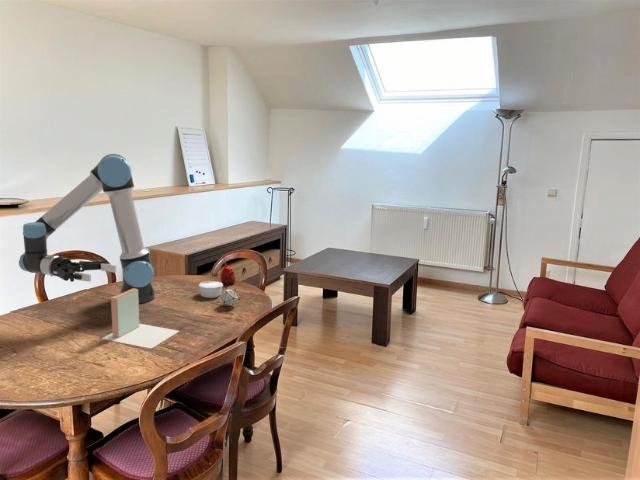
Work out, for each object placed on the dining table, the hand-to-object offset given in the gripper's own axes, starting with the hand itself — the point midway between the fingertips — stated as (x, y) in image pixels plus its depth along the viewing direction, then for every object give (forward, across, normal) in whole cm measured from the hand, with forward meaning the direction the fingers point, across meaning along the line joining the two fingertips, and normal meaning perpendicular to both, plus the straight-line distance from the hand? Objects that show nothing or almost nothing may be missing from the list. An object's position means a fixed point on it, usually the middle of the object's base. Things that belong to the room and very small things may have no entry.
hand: (103, 273), depth 181 cm
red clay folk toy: (+13, -71, -22) cm, 76 cm away
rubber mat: (+16, 0, -22) cm, 27 cm away
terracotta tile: (+9, 0, -21) cm, 23 cm away
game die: (+30, -42, -22) cm, 56 cm away
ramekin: (+15, -52, -22) cm, 58 cm away
